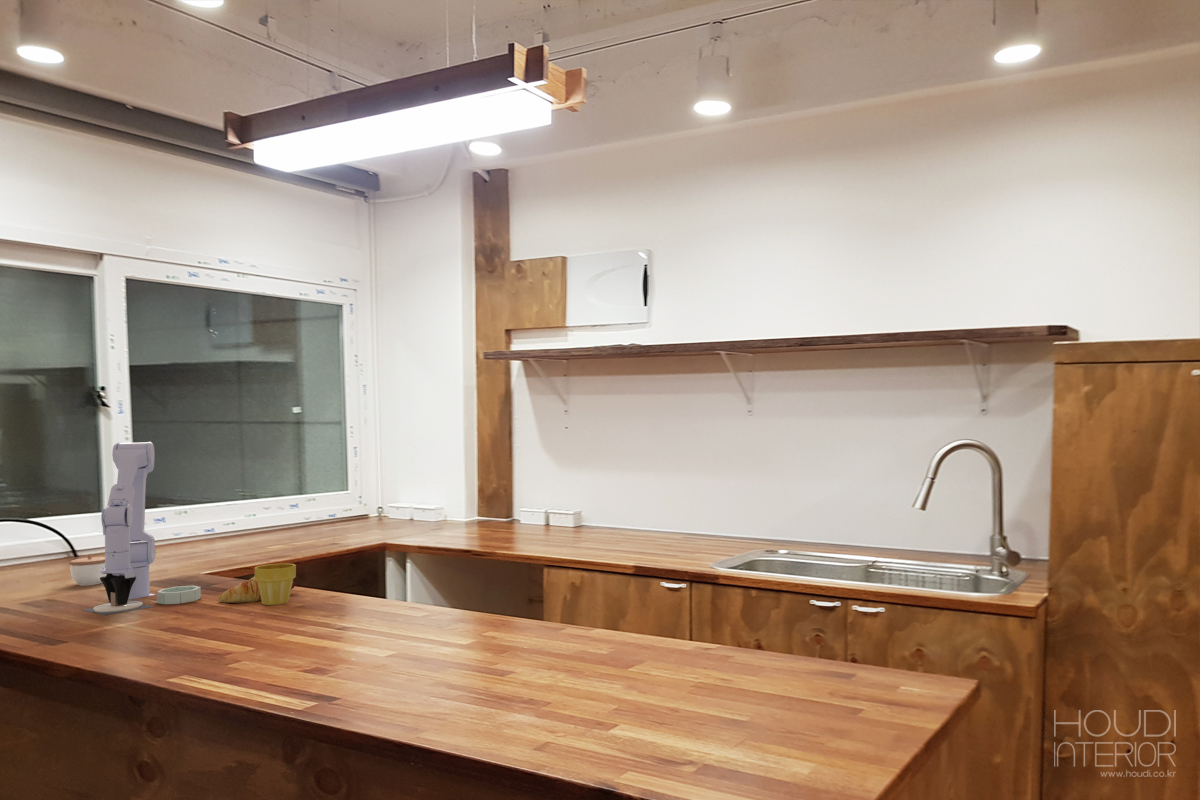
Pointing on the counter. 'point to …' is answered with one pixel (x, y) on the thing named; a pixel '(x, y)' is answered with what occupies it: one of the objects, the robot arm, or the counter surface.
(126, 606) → the lid
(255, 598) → the croissant
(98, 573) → the lidded jar
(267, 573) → the plant pot
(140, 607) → the mat
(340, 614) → the counter surface
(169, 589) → the bowl
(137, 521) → the robot arm
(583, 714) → the counter surface
